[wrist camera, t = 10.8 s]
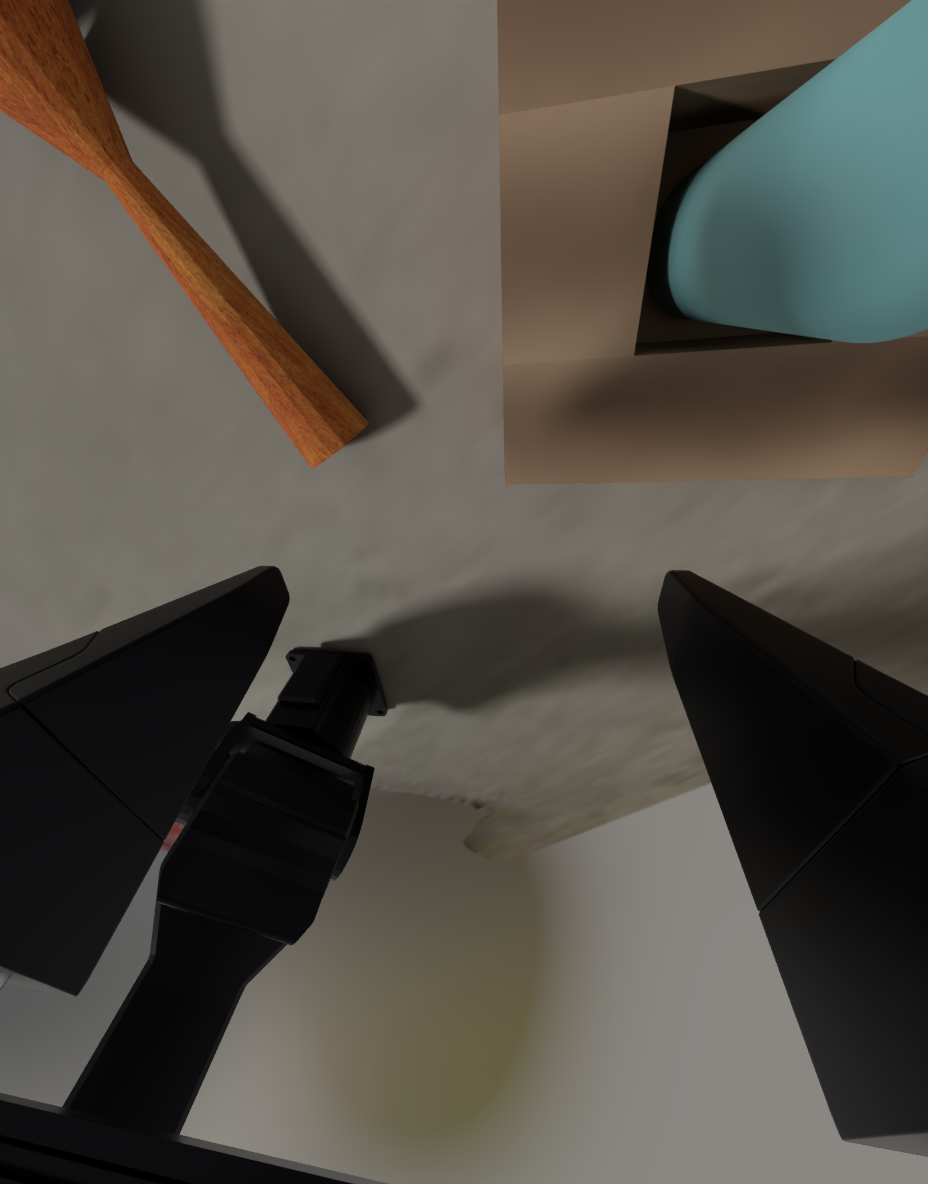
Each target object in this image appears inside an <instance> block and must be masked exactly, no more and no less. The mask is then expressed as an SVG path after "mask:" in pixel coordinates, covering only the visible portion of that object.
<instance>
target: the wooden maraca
mask: <svg viewBox="0 0 928 1184" xmlns="http://www.w3.org/2000/svg"><path fill="white" fill-rule="evenodd" d="M0 111H2V112H3V113H5V114H6V115H8V116H9V117H11V118H12V119H14V120H15V121H17V122H18V123H20V124H21V125H23V126H24V127H25V128H27V129H28V130H30V131H31V132H33V133H34V134H36V135H37V136H39V137H40V138H42V139H43V140H45V141H46V142H48V143H49V144H51V145H52V146H54V147H55V148H56V149H58V150H59V151H61V152H62V153H64V154H65V155H67V156H68V157H70V158H71V159H73V160H74V161H76V162H77V163H79V164H80V165H82V166H83V167H85V168H86V169H87V170H89V171H90V172H92V173H93V174H95V175H96V176H98V177H99V178H101V179H102V180H104V181H105V182H106V183H107V184H108V186H109V187H110V189H111V190H112V191H113V193H114V194H115V196H116V197H117V198H118V200H119V201H120V203H121V204H122V205H123V207H124V208H125V209H126V211H127V212H128V214H129V215H130V216H131V218H132V219H133V221H134V222H135V223H136V225H137V226H138V228H139V229H140V230H141V232H142V233H143V235H144V236H145V237H146V239H147V240H148V242H149V243H150V244H151V246H152V247H153V248H154V250H155V251H156V253H157V254H158V255H159V257H160V258H161V260H162V261H163V262H164V264H165V265H166V267H167V268H168V269H169V271H170V272H171V274H172V275H173V276H174V278H175V279H176V281H177V282H178V283H179V285H180V286H181V287H182V289H183V290H184V292H185V293H186V294H187V296H188V297H189V299H190V300H191V301H192V303H193V304H194V306H195V307H196V308H197V310H198V311H199V313H200V314H201V315H202V317H203V318H204V320H205V321H206V322H207V324H208V325H209V326H210V328H211V329H212V331H213V332H214V333H215V335H216V336H217V338H218V339H219V340H220V342H221V343H222V345H223V346H224V347H225V349H226V350H227V352H228V353H229V354H230V356H231V357H232V359H233V360H234V361H235V363H236V364H237V366H238V367H239V368H240V370H241V371H242V372H243V374H244V375H245V377H246V378H247V379H248V381H249V382H250V384H251V385H252V386H253V388H254V389H255V391H256V392H257V393H258V395H259V396H260V398H261V399H262V400H263V402H264V403H265V405H266V406H267V407H268V409H269V410H270V411H271V413H272V414H273V416H274V417H275V418H276V420H277V421H278V423H279V424H280V425H281V427H282V428H283V430H284V431H285V432H286V434H287V435H288V437H289V438H290V439H291V441H292V442H293V444H294V445H295V446H296V448H297V449H298V450H299V452H300V453H301V455H302V456H303V457H304V459H305V460H306V462H307V463H308V464H309V466H310V467H311V468H314V467H316V466H317V465H319V464H321V463H322V462H324V461H325V460H326V459H328V458H329V457H330V456H332V455H333V454H334V453H336V452H337V451H338V450H340V449H341V448H342V447H343V446H345V445H346V444H347V443H348V442H349V441H351V440H352V439H353V438H354V437H355V436H356V435H358V434H359V433H360V432H361V431H362V430H363V429H364V428H365V427H366V426H367V425H368V421H367V420H366V419H365V418H364V417H363V416H362V414H361V413H360V412H359V411H358V410H357V409H356V408H355V407H354V406H353V405H352V403H351V402H350V401H349V400H348V399H347V398H346V397H345V396H344V395H343V393H342V392H341V391H340V390H339V389H338V388H337V387H336V386H335V385H334V384H333V382H332V381H331V380H330V379H329V378H328V377H327V376H326V375H325V374H324V372H323V371H322V370H321V369H320V368H319V367H318V366H317V365H316V364H315V363H314V361H313V360H312V359H311V358H310V357H309V356H308V355H307V354H306V353H305V352H304V350H303V349H302V348H301V347H300V346H299V345H298V344H297V343H296V342H295V340H294V339H293V338H292V337H291V336H290V335H289V334H288V333H287V332H286V331H285V329H284V328H283V327H282V326H281V325H280V324H279V323H278V322H277V321H276V319H275V318H274V317H273V316H272V315H271V314H270V313H269V312H268V311H267V310H266V308H265V307H264V306H263V305H262V304H261V303H260V302H259V301H258V300H257V298H256V297H255V296H254V295H253V294H252V293H251V292H250V291H249V290H248V289H247V287H246V286H245V285H244V284H243V283H242V282H241V281H240V280H239V279H238V278H237V276H236V275H235V274H234V273H233V272H232V271H231V270H230V269H229V268H228V266H227V265H226V264H225V263H224V262H223V261H222V260H221V259H220V258H219V257H218V255H217V254H216V253H215V252H214V251H213V250H212V249H211V248H210V247H209V245H208V244H207V243H206V242H205V241H204V240H203V239H202V238H201V237H200V236H199V234H198V233H197V232H196V231H195V230H194V229H193V228H192V227H191V226H190V224H189V223H188V222H187V221H186V220H185V219H184V218H183V217H182V216H181V215H180V213H179V212H178V211H177V210H176V209H175V208H174V207H173V206H172V205H171V204H170V202H169V201H168V200H167V199H166V198H165V197H164V196H163V195H162V194H161V192H160V191H159V190H158V189H157V188H156V187H155V186H154V185H153V184H152V183H151V181H150V180H149V179H148V178H147V177H146V176H145V175H144V174H143V173H142V171H141V170H140V169H139V168H138V167H137V166H136V165H135V164H134V163H133V161H132V159H131V156H130V154H129V151H128V149H127V146H126V144H125V141H124V139H123V136H122V134H121V131H120V129H119V126H118V124H117V121H116V119H115V116H114V114H113V111H112V109H111V106H110V104H109V101H108V99H107V96H106V94H105V91H104V89H103V86H102V84H101V81H100V79H99V76H98V74H97V71H96V69H95V66H94V64H93V61H92V59H91V56H90V54H89V51H88V49H87V46H86V44H85V41H84V39H83V36H82V34H81V31H80V29H79V26H78V24H77V21H76V19H75V16H74V14H73V11H72V9H71V6H70V4H69V1H68V0H0Z"/></svg>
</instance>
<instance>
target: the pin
mask: <svg viewBox="0 0 928 1184" xmlns="http://www.w3.org/2000/svg"><path fill="white" fill-rule="evenodd" d="M646 281H647V284H648V288H649V290H650V293H651V295H652V297H653V298H654V300H655V302H656V303H657V304H658V305H659V306H660V308H662V309H663V310H664V311H665V312H667V313H669V314H670V315H672V316H675V317H678V318H682V319H689V320H696V321H703V322H710V323H717V324H724V325H731V326H738V327H745V328H752V329H759V330H766V331H773V332H780V333H787V334H793V335H800V336H807V337H814V338H821V339H828V340H835V341H842V342H849V343H875V342H883V341H890V340H894V339H898V338H902V337H906V336H910V335H912V334H915V333H918V332H921V331H924V330H927V329H928V0H912V1H910V2H909V3H908V4H906V5H905V6H904V7H903V8H901V9H900V10H899V11H897V12H896V13H895V14H894V15H892V16H891V17H890V18H888V19H887V20H886V21H885V22H883V23H882V24H881V25H879V26H878V27H877V28H876V29H874V30H873V31H872V32H870V33H869V34H868V35H867V36H865V37H864V38H863V39H861V40H860V41H859V42H858V43H856V44H855V45H854V46H852V47H851V48H850V49H849V50H847V51H846V52H845V53H843V54H842V55H841V56H840V57H838V58H837V59H836V60H834V61H833V62H832V63H831V64H829V65H828V66H827V67H825V68H824V69H823V70H822V71H820V72H819V73H818V74H816V75H815V76H814V77H813V78H811V79H810V80H809V81H807V82H806V83H805V84H804V85H802V86H801V87H800V88H798V89H797V90H796V91H795V92H793V93H792V94H791V95H789V96H788V97H787V98H786V99H784V100H783V101H782V102H780V103H779V104H778V105H777V106H775V107H774V108H773V109H771V110H770V111H769V112H768V113H766V114H765V115H764V116H762V117H761V118H760V119H759V120H757V121H756V122H755V123H753V124H752V125H751V126H750V127H748V128H747V129H746V130H744V131H743V132H742V133H741V134H739V135H738V136H737V137H735V138H734V139H733V140H732V141H730V142H729V143H728V144H726V145H725V146H724V147H723V148H721V149H720V150H719V151H717V152H716V153H715V154H714V155H712V156H711V157H710V158H708V159H707V160H706V161H704V162H703V163H702V164H701V165H699V166H698V167H697V168H695V169H694V170H693V171H692V172H691V173H689V174H688V175H687V176H686V177H685V178H684V179H683V180H682V181H681V182H680V183H679V184H678V185H677V186H676V187H675V189H674V190H673V191H672V192H671V194H670V195H669V196H668V198H667V199H666V201H665V202H664V204H663V206H662V207H661V209H660V211H659V213H658V215H657V217H656V219H655V221H654V227H653V233H652V240H651V247H650V253H649V260H648V266H647V273H646Z"/></svg>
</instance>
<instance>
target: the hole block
mask: <svg viewBox="0 0 928 1184" xmlns="http://www.w3.org/2000/svg"><path fill="white" fill-rule="evenodd" d="M910 1H912V0H497V7H498V71H499V135H500V199H501V263H502V327H503V391H504V455H505V485H509V484H559V483H610V482H660V481H710V480H761V479H811V478H861V477H912V476H913V475H914V473H915V472H916V470H917V468H918V467H919V465H920V463H921V462H922V460H923V458H924V457H925V455H926V453H927V452H928V329H927V330H924V331H921V332H918V333H915V334H912V335H910V336H906V337H902V338H898V339H894V340H890V341H883V342H875V343H849V342H842V341H835V340H828V339H821V338H814V337H807V336H800V335H793V334H787V333H780V332H773V331H766V330H759V329H752V328H745V327H738V326H731V325H724V324H717V323H710V322H703V321H696V320H689V319H682V318H678V317H675V316H672V315H670V314H669V313H667V312H665V311H664V310H663V309H662V308H660V306H659V305H658V304H657V303H656V302H655V300H654V298H653V297H652V295H651V293H650V290H649V288H648V284H647V281H646V273H647V266H648V260H649V253H650V247H651V240H652V233H653V227H654V221H655V219H656V217H657V215H658V213H659V211H660V209H661V207H662V206H663V204H664V202H665V201H666V199H667V198H668V196H669V195H670V194H671V192H672V191H673V190H674V189H675V187H676V186H677V185H678V184H679V183H680V182H681V181H682V180H683V179H684V178H685V177H686V176H687V175H688V174H689V173H691V172H692V171H693V170H694V169H695V168H697V167H698V166H699V165H701V164H702V163H703V162H704V161H706V160H707V159H708V158H710V157H711V156H712V155H714V154H715V153H716V152H717V151H719V150H720V149H721V148H723V147H724V146H725V145H726V144H728V143H729V142H730V141H732V140H733V139H734V138H735V137H737V136H738V135H739V134H741V133H742V132H743V131H744V130H746V129H747V128H748V127H750V126H751V125H752V124H753V123H755V122H756V121H757V120H759V119H760V118H761V117H762V116H764V115H765V114H766V113H768V112H769V111H770V110H771V109H773V108H774V107H775V106H777V105H778V104H779V103H780V102H782V101H783V100H784V99H786V98H787V97H788V96H789V95H791V94H792V93H793V92H795V91H796V90H797V89H798V88H800V87H801V86H802V85H804V84H805V83H806V82H807V81H809V80H810V79H811V78H813V77H814V76H815V75H816V74H818V73H819V72H820V71H822V70H823V69H824V68H825V67H827V66H828V65H829V64H831V63H832V62H833V61H834V60H836V59H837V58H838V57H840V56H841V55H842V54H843V53H845V52H846V51H847V50H849V49H850V48H851V47H852V46H854V45H855V44H856V43H858V42H859V41H860V40H861V39H863V38H864V37H865V36H867V35H868V34H869V33H870V32H872V31H873V30H874V29H876V28H877V27H878V26H879V25H881V24H882V23H883V22H885V21H886V20H887V19H888V18H890V17H891V16H892V15H894V14H895V13H896V12H897V11H899V10H900V9H901V8H903V7H904V6H905V5H906V4H908V3H909V2H910Z"/></svg>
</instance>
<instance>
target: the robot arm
mask: <svg viewBox="0 0 928 1184" xmlns="http://www.w3.org/2000/svg"><path fill="white" fill-rule="evenodd" d="M289 600H290V597H289V592H288V590H287V587H286V584H285V582H284V579H283V576H282V574H281V572H280V570H279V569H278V568H277V567H275V566H259V567H256V568H253V569H251V570H248V571H246V572H243V573H241V574H238V575H236V576H233V577H231V578H228V579H226V580H224V581H221V582H219V583H216V584H214V585H211V586H209V587H206V588H204V589H201V590H199V591H196V592H194V593H191V594H189V595H186V596H184V597H181V598H179V599H176V600H174V601H171V602H169V603H166V604H164V605H161V606H159V607H156V608H154V609H151V610H149V611H146V612H144V613H141V614H139V615H136V616H134V617H131V618H129V619H126V620H124V621H121V622H119V623H116V624H114V625H111V626H109V627H106V628H104V629H102V630H101V631H100V632H99V631H96V632H94V633H91V634H89V635H86V636H84V637H81V638H79V639H76V640H74V641H71V642H68V643H66V644H63V645H61V646H58V647H56V648H53V649H51V650H48V651H45V652H43V653H40V654H37V655H35V656H32V657H29V658H27V659H24V660H21V661H19V662H16V663H13V664H11V665H8V666H5V667H2V668H0V990H1V988H2V987H3V986H4V984H10V985H16V986H21V987H26V988H32V989H37V990H42V991H47V992H53V993H58V994H64V995H69V996H74V997H76V996H77V995H78V994H79V993H80V991H81V990H82V988H83V987H84V985H85V984H86V982H87V981H88V979H89V977H90V975H91V974H92V972H93V970H94V968H95V966H96V965H97V963H98V961H99V959H100V957H101V956H102V954H103V952H104V950H105V948H106V946H107V945H108V943H109V941H110V939H111V937H112V936H113V934H114V932H115V930H116V928H117V926H118V925H119V923H120V921H121V919H122V917H123V916H124V914H125V912H126V910H127V908H128V907H129V905H130V903H131V901H132V899H133V897H134V896H135V894H136V892H137V890H138V888H139V887H140V885H141V883H142V881H143V879H144V878H145V876H146V874H147V872H148V870H149V869H150V866H151V865H152V863H153V861H154V859H155V858H156V856H157V854H158V852H159V850H160V849H161V847H162V845H163V843H164V841H163V840H165V839H166V837H167V835H168V833H169V832H170V830H171V828H172V826H173V824H174V823H175V824H178V825H181V826H183V827H184V828H183V830H182V831H181V833H180V835H179V836H178V838H177V839H176V841H175V842H174V844H173V846H172V847H171V849H170V850H169V852H168V854H167V855H166V857H165V859H164V860H163V862H162V864H161V867H160V872H159V880H158V889H157V899H156V906H155V915H154V925H153V933H152V941H151V950H150V956H149V959H148V961H147V963H146V964H145V966H144V968H143V970H142V971H141V973H140V975H139V976H138V978H137V980H136V982H135V983H134V985H133V987H132V988H131V990H130V992H129V993H128V995H127V997H126V999H125V1000H124V1002H123V1004H122V1006H121V1007H120V1009H119V1011H118V1012H117V1014H116V1016H115V1017H114V1019H113V1021H112V1023H111V1024H110V1026H109V1028H108V1030H107V1031H106V1033H105V1035H104V1036H103V1038H102V1040H101V1041H100V1043H99V1045H98V1047H97V1048H96V1050H95V1052H94V1053H93V1055H92V1057H91V1059H90V1060H89V1062H88V1064H87V1065H86V1067H85V1069H84V1071H83V1072H82V1074H81V1076H80V1078H79V1079H78V1081H77V1083H76V1085H75V1086H74V1088H73V1089H72V1091H71V1093H70V1095H69V1097H68V1098H67V1100H66V1101H65V1103H64V1105H63V1107H58V1106H54V1105H50V1104H46V1103H42V1102H37V1101H33V1100H29V1099H25V1098H20V1097H16V1096H12V1095H8V1094H3V1093H0V1184H387V1183H383V1182H379V1181H375V1180H370V1179H366V1178H362V1177H358V1176H353V1175H349V1174H345V1173H340V1172H336V1171H332V1170H328V1169H323V1168H319V1167H314V1166H310V1165H306V1164H302V1163H298V1162H294V1161H289V1160H285V1159H281V1158H276V1157H272V1156H268V1155H264V1154H259V1153H255V1152H251V1151H247V1150H242V1149H238V1148H234V1147H230V1146H225V1145H221V1144H216V1143H212V1142H208V1141H204V1140H200V1139H195V1138H191V1137H187V1136H183V1135H179V1134H180V1132H181V1130H182V1127H183V1125H184V1123H185V1121H186V1118H187V1116H188V1114H189V1112H190V1109H191V1107H192V1105H193V1103H194V1100H195V1098H196V1096H197V1094H198V1091H199V1089H200V1087H201V1085H202V1082H203V1080H204V1078H205V1076H206V1073H207V1071H208V1069H209V1067H210V1064H211V1062H212V1060H213V1058H214V1055H215V1053H216V1051H217V1049H218V1046H219V1044H220V1042H221V1040H222V1037H223V1035H224V1032H225V1031H226V1028H227V1026H228V1024H229V1022H230V1019H231V1017H232V1015H233V1013H234V1010H235V1008H236V1006H237V1004H238V1001H239V999H240V997H241V995H242V993H243V991H244V989H245V987H246V985H247V984H248V983H249V982H250V981H251V980H252V979H253V978H254V977H255V976H256V975H257V974H258V973H259V972H260V971H261V970H262V969H263V968H264V967H265V966H266V965H267V964H268V963H269V962H270V961H271V960H272V959H273V958H274V957H275V956H276V955H277V954H278V953H279V952H280V951H281V950H282V949H283V948H284V947H285V946H286V945H287V944H289V945H293V944H294V943H296V941H298V939H299V938H300V937H301V936H302V935H303V934H304V933H305V931H306V930H307V929H308V928H309V927H310V926H311V924H312V923H313V921H314V919H315V917H316V914H317V911H318V908H319V905H320V903H321V900H322V898H323V895H324V893H325V891H326V888H327V886H328V884H329V881H330V880H331V881H335V880H336V879H337V878H338V877H339V875H340V874H341V873H342V871H343V869H344V867H345V866H346V864H347V862H348V860H349V858H350V856H351V854H352V851H353V849H354V847H355V844H356V842H357V839H358V836H359V833H360V830H361V826H362V823H363V818H364V814H365V809H366V805H367V800H368V796H369V791H370V787H371V782H372V778H373V773H374V767H372V766H369V765H363V764H361V763H359V762H357V761H354V760H352V759H350V758H351V755H352V753H353V750H354V748H355V745H356V743H357V740H358V738H359V735H360V733H361V730H362V728H363V725H364V723H365V720H366V718H367V715H371V716H385V715H386V714H387V711H388V707H387V704H386V701H385V697H384V694H383V690H382V687H381V684H380V680H379V677H378V673H377V670H376V667H375V663H374V660H373V658H372V657H371V656H370V655H368V654H361V653H341V652H321V651H301V650H290V651H289V652H288V654H287V655H286V659H287V661H288V663H289V665H290V668H291V670H292V672H293V674H292V676H291V677H290V679H289V680H288V682H287V683H286V685H285V686H284V688H283V690H282V691H281V693H280V694H279V696H278V702H277V703H276V705H275V706H274V708H273V710H272V711H271V713H270V714H269V716H268V717H267V719H266V721H264V720H261V719H259V718H257V717H256V715H254V714H252V713H250V712H248V713H247V714H246V715H245V717H244V718H243V719H242V720H241V721H231V720H232V718H233V716H234V714H235V712H236V710H237V709H238V707H239V705H240V703H241V701H242V700H243V698H244V696H245V694H246V692H247V691H248V689H249V687H250V685H251V683H252V682H253V680H254V678H255V676H256V674H257V672H258V671H259V669H260V667H261V665H262V663H263V662H264V660H265V658H266V656H267V654H268V652H269V650H270V647H271V645H272V643H273V640H274V638H275V636H276V633H277V631H278V628H279V626H280V624H281V621H282V619H283V616H284V614H285V612H286V609H287V607H288V604H289ZM658 614H659V619H660V624H661V628H662V633H663V637H664V642H665V646H666V651H667V656H668V660H669V664H670V668H671V672H672V675H673V678H674V681H675V684H676V686H677V689H678V692H679V695H680V698H681V700H682V703H683V706H684V709H685V711H686V714H687V717H688V720H689V722H690V725H691V728H692V731H693V733H694V736H695V739H696V742H697V744H698V747H699V750H700V753H701V755H702V758H703V761H704V764H705V767H706V769H707V772H708V775H709V778H710V780H711V783H712V786H713V789H714V791H715V794H716V797H717V799H718V802H719V805H720V808H721V811H722V813H723V816H724V819H725V822H726V824H727V827H728V830H729V833H730V835H731V838H732V841H733V844H734V847H735V849H736V852H737V855H738V858H739V860H740V863H741V866H742V869H743V871H744V874H745V877H746V880H747V882H748V885H749V888H750V891H751V893H752V896H753V899H754V902H755V904H756V907H757V909H758V911H760V913H759V916H760V919H761V922H762V925H763V927H764V930H765V933H766V936H767V938H768V941H769V944H770V946H771V950H772V952H773V955H774V958H775V961H776V963H777V966H778V969H779V972H780V974H781V977H782V980H783V983H784V985H785V988H786V991H787V994H788V997H789V999H790V1002H791V1005H792V1008H793V1010H794V1013H795V1016H796V1018H797V1021H798V1024H799V1027H800V1029H801V1032H802V1035H803V1038H804V1041H805V1043H806V1046H807V1049H808V1052H809V1054H810V1057H811V1060H812V1063H813V1066H814V1068H815V1071H816V1073H817V1076H818V1079H819V1082H820V1085H821V1088H822V1090H823V1093H824V1096H825V1099H826V1101H827V1104H828V1107H829V1110H830V1112H831V1115H832V1117H833V1120H834V1123H835V1125H836V1127H837V1130H838V1132H839V1135H840V1136H841V1138H842V1140H844V1141H846V1142H852V1143H858V1144H862V1145H868V1146H873V1147H878V1148H884V1149H889V1150H894V1151H900V1152H905V1153H910V1154H916V1155H921V1156H927V1157H928V696H927V695H925V694H923V693H921V692H919V691H917V690H915V689H913V688H911V687H909V686H907V685H905V684H904V683H902V682H900V681H898V680H896V679H894V678H892V677H890V676H888V675H886V674H884V673H882V672H880V671H878V670H876V669H874V668H873V667H871V666H869V665H867V664H865V663H863V662H861V661H859V660H855V661H854V658H853V657H852V656H850V655H848V654H846V653H844V652H842V651H840V650H838V649H836V648H835V647H833V646H831V645H829V644H827V643H825V642H823V641H821V640H819V639H818V638H816V637H814V636H812V635H810V634H808V633H806V632H804V631H802V630H800V629H799V628H797V627H795V626H793V625H791V624H789V623H787V622H785V621H783V620H782V619H780V618H778V617H776V616H774V615H772V614H770V613H768V612H766V611H765V610H763V609H761V608H759V607H757V606H755V605H753V604H751V603H749V602H747V601H746V600H744V599H742V598H740V597H738V596H736V595H734V594H732V593H730V592H729V591H727V590H725V589H723V588H721V587H719V586H717V585H715V584H713V583H712V582H710V581H708V580H706V579H704V578H702V577H700V576H698V575H696V574H695V573H693V572H691V571H687V570H671V571H669V572H667V574H666V575H665V578H664V582H663V586H662V590H661V593H660V597H659V601H658ZM230 721H231V722H230ZM229 723H230V724H229Z"/></svg>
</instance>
